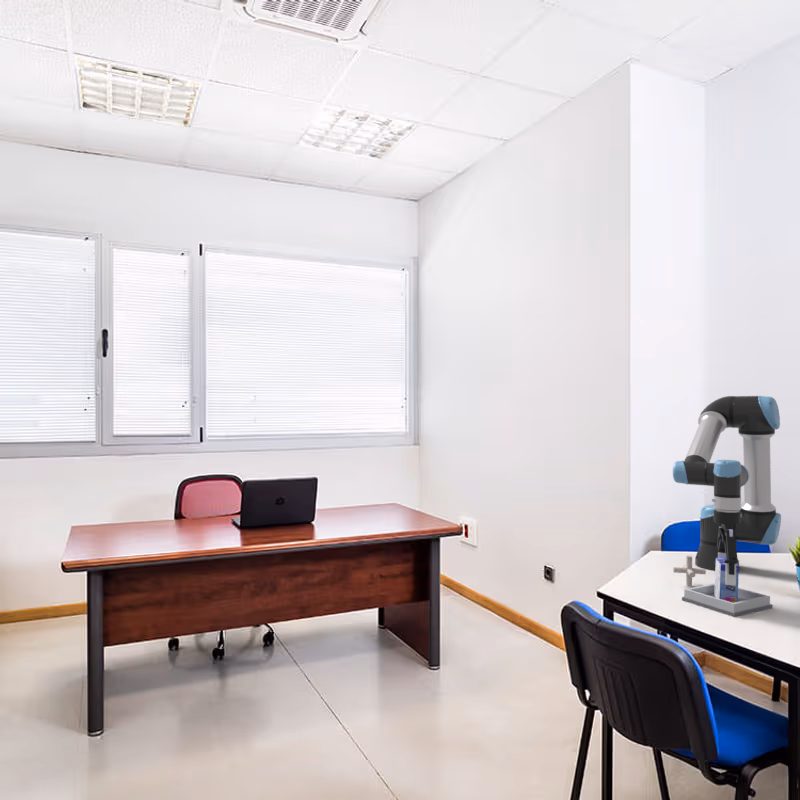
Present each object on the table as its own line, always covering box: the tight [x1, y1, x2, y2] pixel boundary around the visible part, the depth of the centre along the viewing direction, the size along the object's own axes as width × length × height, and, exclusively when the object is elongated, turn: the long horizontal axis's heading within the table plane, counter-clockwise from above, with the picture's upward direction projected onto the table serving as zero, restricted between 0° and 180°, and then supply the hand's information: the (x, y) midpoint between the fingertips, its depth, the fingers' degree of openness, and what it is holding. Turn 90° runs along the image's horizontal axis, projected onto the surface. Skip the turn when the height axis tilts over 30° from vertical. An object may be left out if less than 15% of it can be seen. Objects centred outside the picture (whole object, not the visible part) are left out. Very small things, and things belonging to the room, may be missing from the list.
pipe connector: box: [672, 555, 706, 587], centre depth 225 cm, size 10×10×10 cm
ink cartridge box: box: [714, 558, 740, 603], centre depth 205 cm, size 10×6×14 cm, turn 163°
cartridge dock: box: [681, 582, 774, 618], centre depth 205 cm, size 18×18×4 cm
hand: (726, 579), depth 205 cm, fingers open, 13 cm apart
